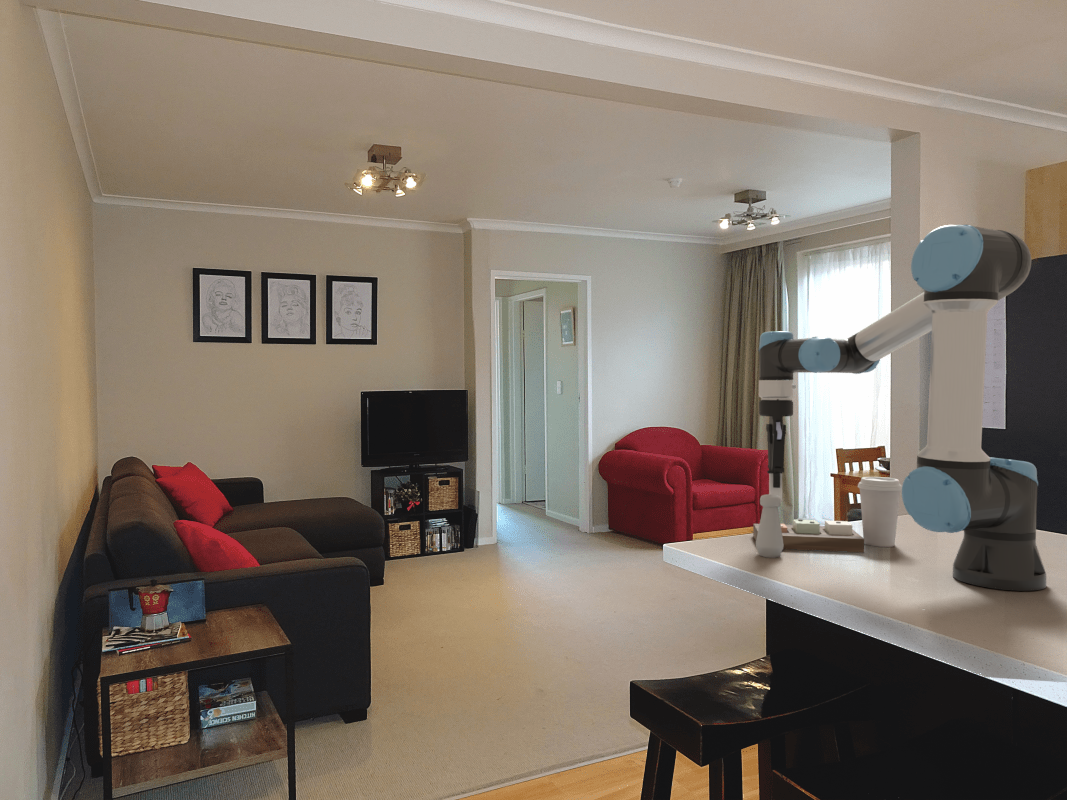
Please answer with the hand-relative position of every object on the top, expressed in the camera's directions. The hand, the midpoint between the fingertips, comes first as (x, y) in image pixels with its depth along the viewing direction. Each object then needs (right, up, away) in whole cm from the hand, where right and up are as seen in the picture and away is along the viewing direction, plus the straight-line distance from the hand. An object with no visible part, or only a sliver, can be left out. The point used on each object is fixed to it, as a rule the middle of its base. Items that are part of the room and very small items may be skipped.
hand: (775, 501), depth 181 cm
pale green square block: (+7, -7, -1) cm, 10 cm away
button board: (+7, -10, -1) cm, 12 cm away
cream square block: (+14, -7, -2) cm, 16 cm away
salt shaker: (-5, -10, -13) cm, 17 cm away
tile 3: (0, -8, 0) cm, 8 cm away
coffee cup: (+24, -10, 0) cm, 26 cm away
